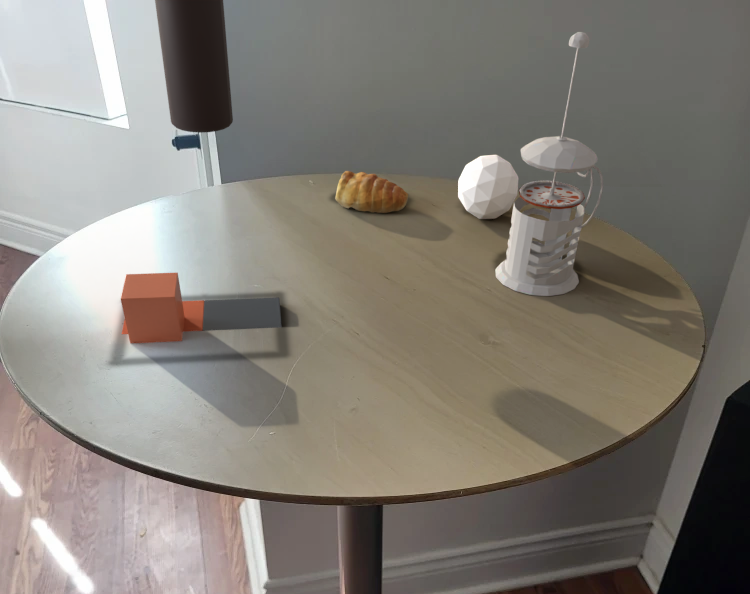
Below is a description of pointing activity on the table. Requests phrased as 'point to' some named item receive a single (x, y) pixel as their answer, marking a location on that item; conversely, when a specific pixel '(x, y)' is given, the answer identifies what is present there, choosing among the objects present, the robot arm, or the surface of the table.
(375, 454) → the table surface
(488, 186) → the geometric ball
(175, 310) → the terracotta block
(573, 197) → the french press
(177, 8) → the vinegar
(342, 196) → the pastry
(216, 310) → the mat
